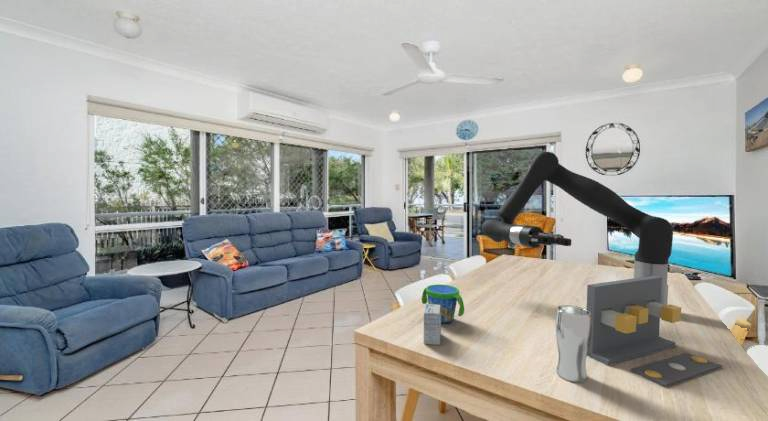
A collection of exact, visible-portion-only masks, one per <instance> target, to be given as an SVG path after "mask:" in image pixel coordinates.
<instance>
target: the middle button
mask: <svg viewBox="0 0 768 421" xmlns="http://www.w3.org/2000/svg"><path fill="white" fill-rule="evenodd" d="M624 313H627V314H630V315H633V316H636V317H637V318H636V324H643V323H647V322H648V308H645V307H641V306H633V305H625V310H624Z"/></svg>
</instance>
